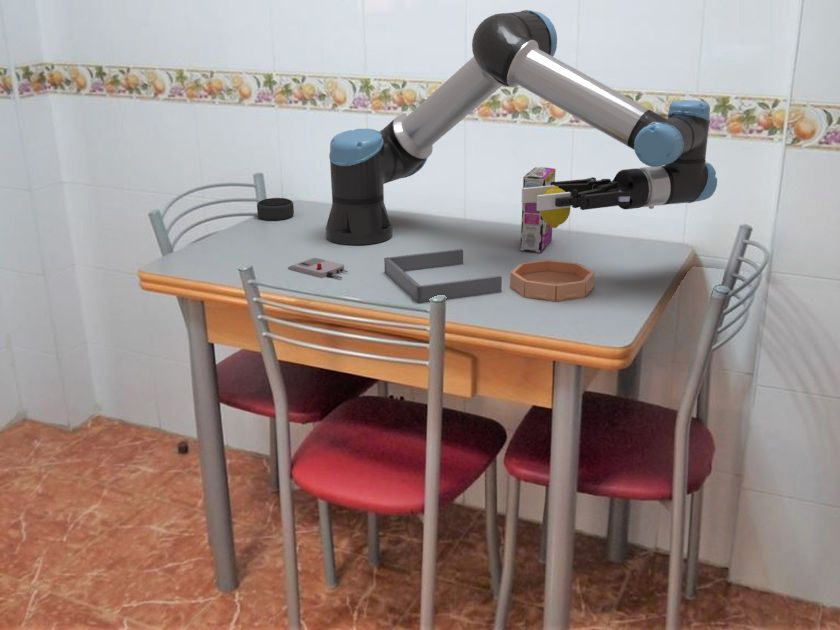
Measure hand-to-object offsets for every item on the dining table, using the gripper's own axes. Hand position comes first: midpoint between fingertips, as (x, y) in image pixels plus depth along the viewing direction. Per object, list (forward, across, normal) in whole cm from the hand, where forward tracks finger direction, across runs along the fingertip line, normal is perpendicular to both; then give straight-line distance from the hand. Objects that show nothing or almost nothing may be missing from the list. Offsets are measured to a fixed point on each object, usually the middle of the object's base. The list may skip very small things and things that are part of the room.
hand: (530, 199), depth 170 cm
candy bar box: (-15, +26, -18) cm, 35 cm away
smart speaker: (+33, +73, -18) cm, 82 cm away
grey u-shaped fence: (+13, +11, -18) cm, 24 cm away
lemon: (-5, 0, -6) cm, 8 cm away
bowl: (-5, 0, -18) cm, 18 cm away
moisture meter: (+34, +27, -18) cm, 47 cm away
